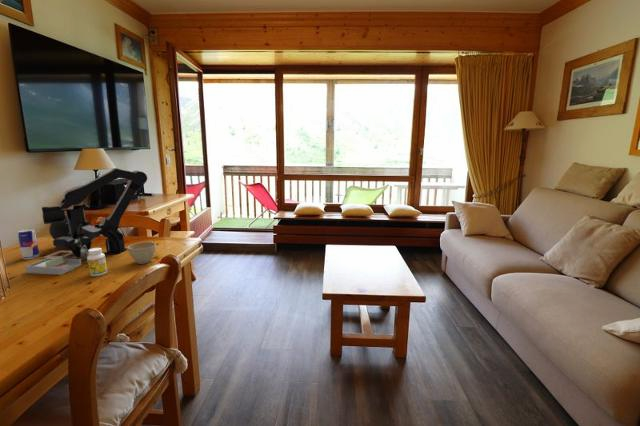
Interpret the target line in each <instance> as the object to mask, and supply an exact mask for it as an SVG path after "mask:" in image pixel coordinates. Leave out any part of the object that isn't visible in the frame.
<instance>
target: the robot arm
mask: <svg viewBox="0 0 640 426" xmlns="http://www.w3.org/2000/svg"><path fill="white" fill-rule="evenodd" d="M117 179H123V180H127V183H126V187H125V189H124V190H123V192H122V195H120V197H119V199H118V201H117V203H116V204H115V205H114V207H113V209H112V211H111V213H110V214H109V215H108V217H105V216H103V217H102V219H101V220H100V221H101V222H99V223H98V224H95V225H91V224H90V222H89V220H86V214H85V210H86V209H89V208H90V206H89V205H87V204H86V203H85V202H83V201H84V200H85V199H87V198H88V197H89V196H90V195H91V194H92V193H94V192H96V191H97V190H99V189H102V188H103V187H105V186H106V185H107V184H108V185H109V184H110V183H112V182H113V181H116V180H117ZM147 181H148V176H147V174H146V173H145V172H143V171H142V170H133V171H130V170H124V169H120V168H115V167H114V168H111V170H109V171H108V172H106V173H103V174H102V175H101V176H98V177H97V178H95V179H93V180H91V181H89V182H87V183H85V184H82V185H79V186H75V187H73V188H69V189H67V190H66V191H64V192H63V196H62V198H63V199H62V200H61V201H60V202H59V204H58V205H53V206H41V210H42V221H43V224H44V225H49V224H50V225H51V223H58V222H62V220H64V219H66V218H65V215H67V218H68V223H66V226H69V229H70V233H68V236H71V237H60V238H56V239H53V240H52V244H53V247H56V246H62V247H68V248H69V249H70V250H69V251H72V252H73V254H74V255H75V256H76V257H77V258H76V259H78V258H80V250H79V245H80V244H82V245H83V244H86V246H87V251H88V250H89V249H91V246H92V243H93V241H94V240H95V239H97V238H99V237H100V236H101V235H102V236H103V237H105V242H104V243H105V250H106V251H104V254H112V255H113V254H115V255H118V254H120V253H123V252H125V251H127V250H128V247H126V246H125V238H124V234H123V233H122V231H120V230H119V228H120V223H121V219H122V217H123V215H124V214H125V212H126V211H127V208H128V207H129V205H130V204H131V202H132V200H133V198H134V197H135V194H136V193H137V192H138V191H139V190H140V189H142V187H143V186H144V185H145V183H147ZM78 239H80V241H81V242H78ZM88 255H90V254H89V253H88Z"/></svg>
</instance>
